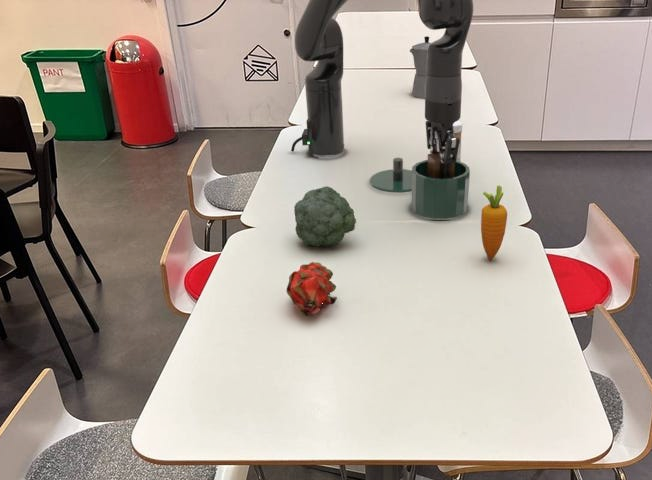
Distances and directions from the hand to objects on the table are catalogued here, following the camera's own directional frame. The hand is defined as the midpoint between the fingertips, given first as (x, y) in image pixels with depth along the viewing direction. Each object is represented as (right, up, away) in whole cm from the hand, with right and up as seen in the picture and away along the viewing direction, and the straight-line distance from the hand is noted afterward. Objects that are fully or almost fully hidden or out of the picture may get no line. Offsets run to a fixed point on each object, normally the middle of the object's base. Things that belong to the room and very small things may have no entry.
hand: (440, 175), depth 155 cm
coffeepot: (+2, +48, +80) cm, 93 cm away
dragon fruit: (-25, -31, -29) cm, 49 cm away
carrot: (+9, -21, -15) cm, 27 cm away
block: (0, 0, 0) cm, 0 cm away
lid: (-9, +3, +17) cm, 20 cm away
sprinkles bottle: (+4, +5, +21) cm, 22 cm away
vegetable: (-25, -16, -7) cm, 30 cm away
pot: (0, -7, +5) cm, 8 cm away
